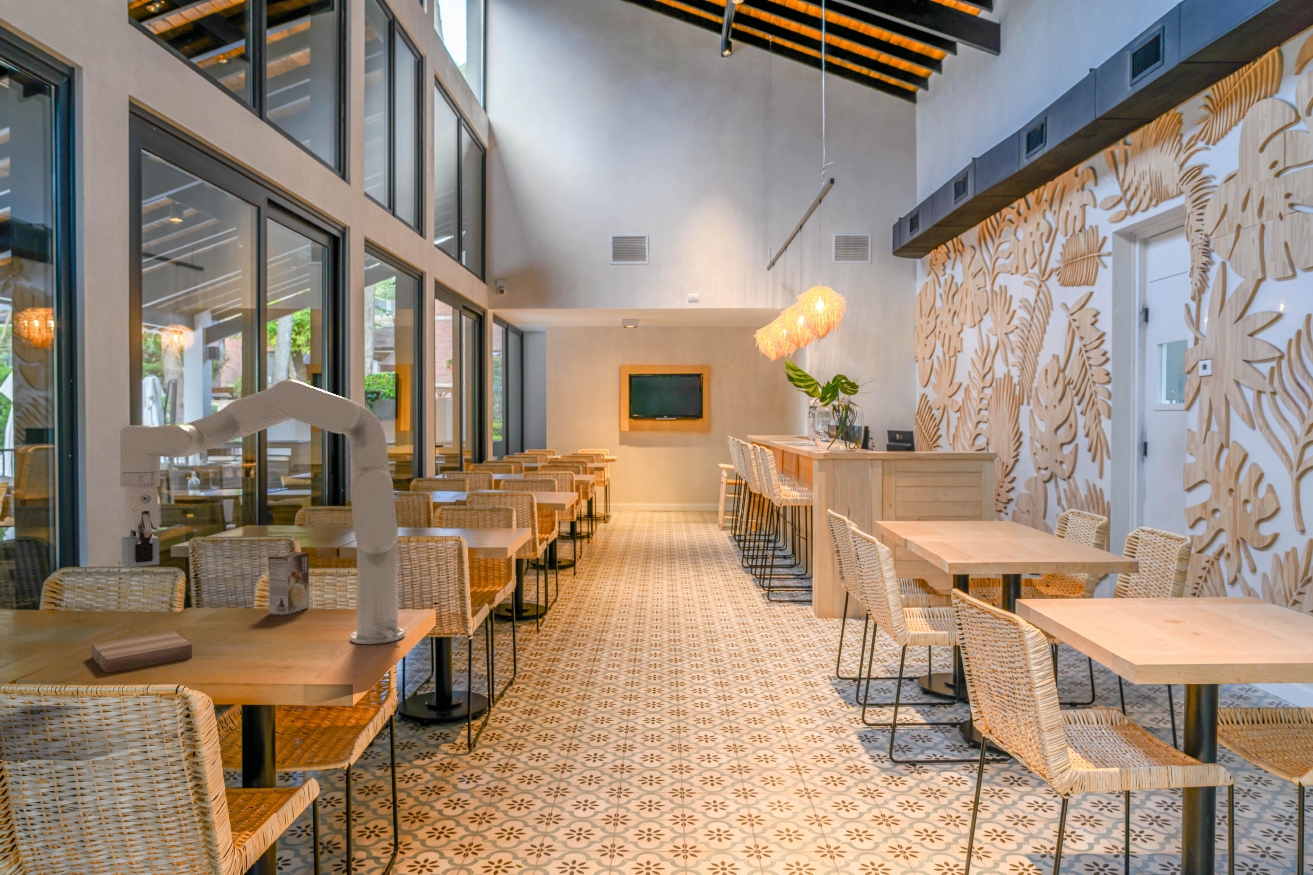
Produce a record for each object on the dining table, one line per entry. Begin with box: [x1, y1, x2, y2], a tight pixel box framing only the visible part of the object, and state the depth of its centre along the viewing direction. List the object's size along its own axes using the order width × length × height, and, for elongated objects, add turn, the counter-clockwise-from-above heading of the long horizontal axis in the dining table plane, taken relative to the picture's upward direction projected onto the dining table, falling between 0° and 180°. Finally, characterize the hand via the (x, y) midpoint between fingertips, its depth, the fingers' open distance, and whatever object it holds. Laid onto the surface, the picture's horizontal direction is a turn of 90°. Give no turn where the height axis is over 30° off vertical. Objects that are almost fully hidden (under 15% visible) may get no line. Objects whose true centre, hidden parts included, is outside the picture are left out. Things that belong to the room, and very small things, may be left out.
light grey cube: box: [121, 534, 160, 568], centre depth 174 cm, size 6×6×6 cm
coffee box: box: [268, 551, 310, 615], centre depth 219 cm, size 9×6×16 cm
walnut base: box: [91, 630, 193, 673], centre depth 175 cm, size 16×16×3 cm
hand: (140, 559), depth 174 cm, fingers closed on light grey cube, 6 cm apart
